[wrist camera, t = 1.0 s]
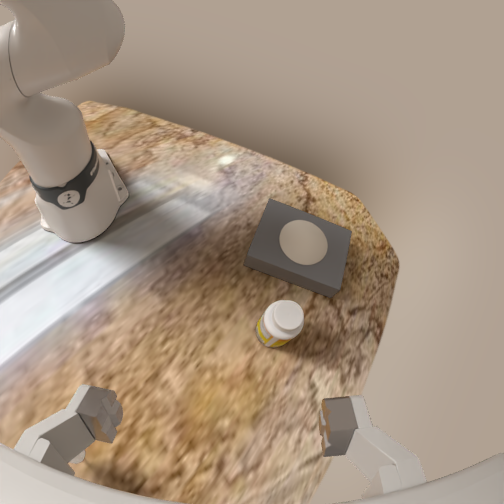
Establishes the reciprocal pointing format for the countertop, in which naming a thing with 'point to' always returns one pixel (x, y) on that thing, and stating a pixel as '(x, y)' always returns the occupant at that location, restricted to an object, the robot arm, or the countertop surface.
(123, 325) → the countertop surface
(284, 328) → the supplement bottle
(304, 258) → the block
